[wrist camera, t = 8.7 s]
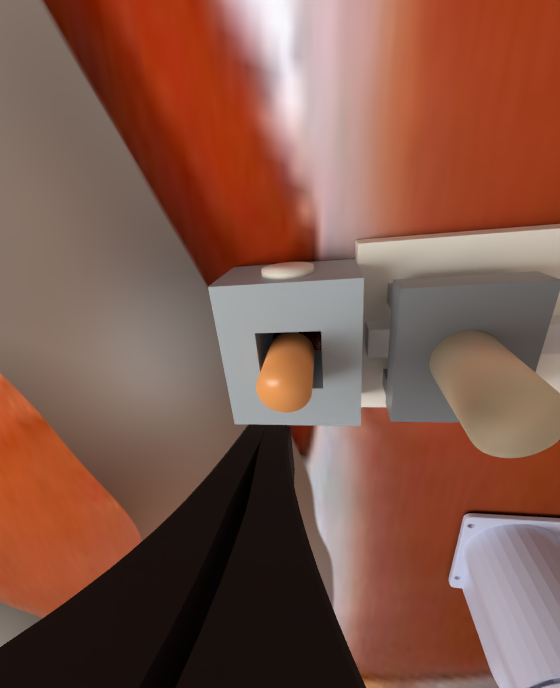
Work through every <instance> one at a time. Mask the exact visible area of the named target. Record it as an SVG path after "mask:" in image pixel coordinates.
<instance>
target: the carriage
mask: <svg viewBox="0 0 560 688" xmlns="http://www.w3.org/2000/svg"><path fill="white" fill-rule="evenodd" d="M559 292H560V279H558V278H555V277H553V276H550V275H547V274H544V273H541V272H539V271H531V272H514V273H497V274H479V275H462V276H444V277H427V278H410V279H393V283H388V291H387V303H388V305H389V307H390V309H391V322H390V338H389V353H388V369H383V380H382V384H383V388H384V391H385V394H386V401H385V403H386V407H387V410H388V414H389V417H390V421H391V422H460V423H461V425H462V427H463V428H464V430H465V432H466V433H467V435H468V437H469V438H470V440H471V442H472V443H473V444H474V445H475V446H476V447H477V448H478V449H479V450H481V451H482V452H484V453H486V454H489V455H492V456H495V457H501V458H519V457H525V456H530V455H533V454H536V453H539V452H541V451H543V450H545V449H547V448H549V447H551V446H552V445H553V444H555V443H556V442H557V441H558V440H560V393H559V392H558V391H557V390H556V389H554V388H553V387H552V386H551V385H550V384H548V383H547V382H546V381H545V380H544V379H542V378H541V377H540V376H539V375H538V374H537V373H535V372H536V369H537V365H538V362H539V359H540V355H541V352H542V349H543V345H544V342H545V339H546V335H547V332H548V329H549V325H550V322H551V318H552V315H553V312H554V308H555V305H556V302H557V298H558V295H559Z"/></svg>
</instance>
